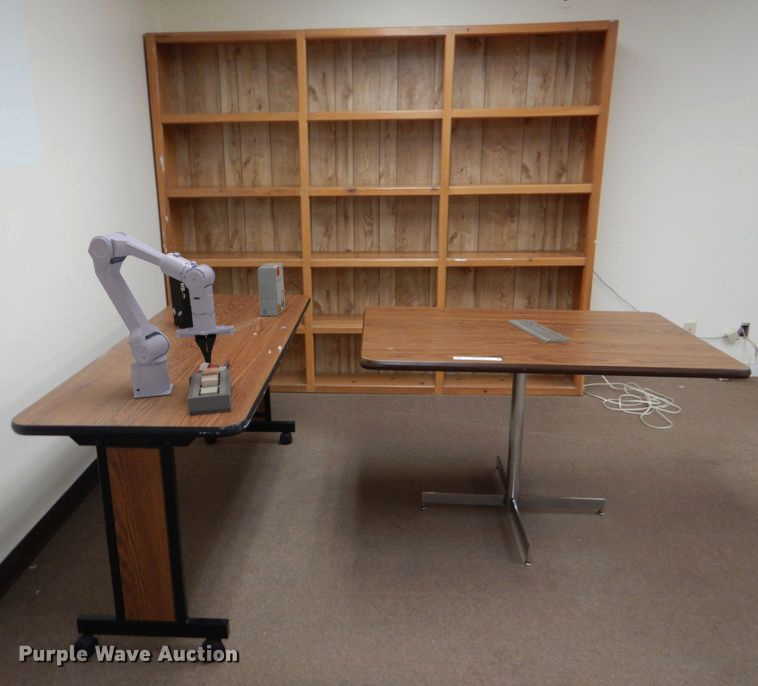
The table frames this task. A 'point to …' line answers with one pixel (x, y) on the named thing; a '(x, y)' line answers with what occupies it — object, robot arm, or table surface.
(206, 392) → the sage key
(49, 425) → the table surface
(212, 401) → the keypad housing
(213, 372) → the terracotta key
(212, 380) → the offwhite key
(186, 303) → the handheld gaming console
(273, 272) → the hard drive box
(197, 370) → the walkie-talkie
